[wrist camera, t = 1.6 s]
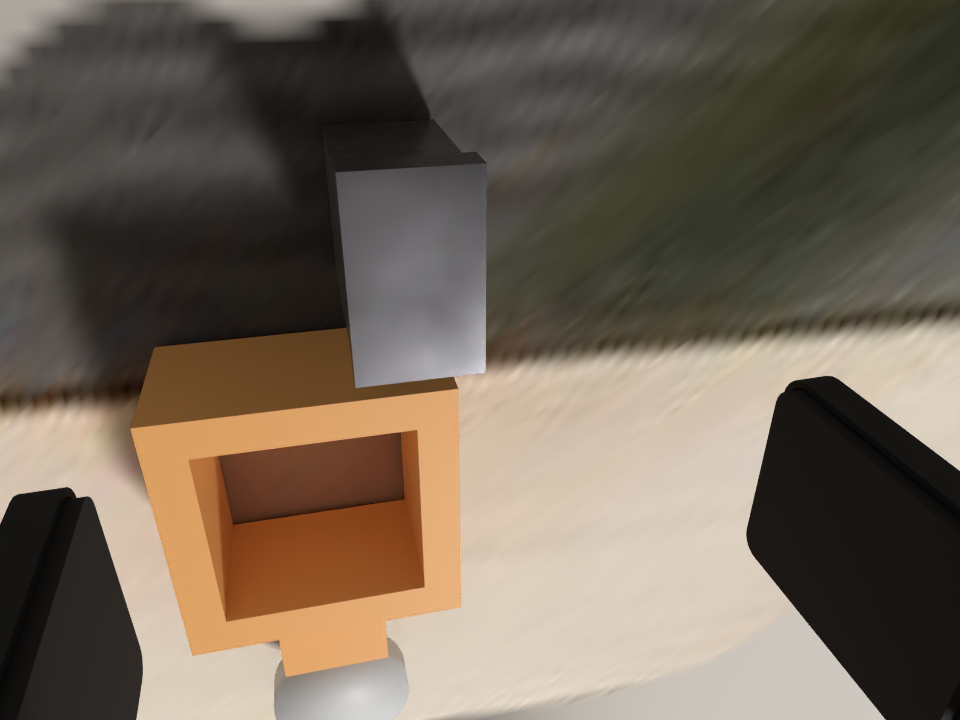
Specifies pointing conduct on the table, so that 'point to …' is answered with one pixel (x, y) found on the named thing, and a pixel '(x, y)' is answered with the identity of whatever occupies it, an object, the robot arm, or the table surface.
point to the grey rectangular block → (408, 249)
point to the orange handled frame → (302, 538)
